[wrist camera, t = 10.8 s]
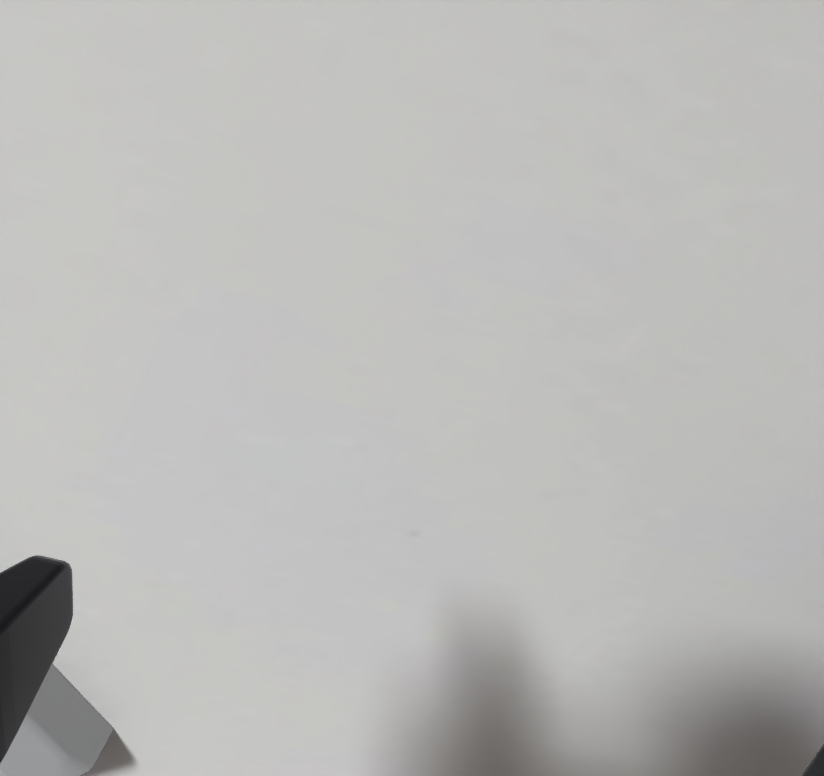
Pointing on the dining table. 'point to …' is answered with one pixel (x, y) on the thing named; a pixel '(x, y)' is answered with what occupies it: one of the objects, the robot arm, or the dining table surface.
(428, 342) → the dining table surface
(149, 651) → the dining table surface
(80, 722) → the grey device
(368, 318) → the dining table surface
